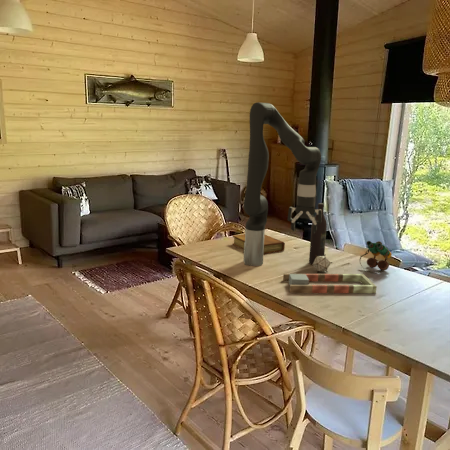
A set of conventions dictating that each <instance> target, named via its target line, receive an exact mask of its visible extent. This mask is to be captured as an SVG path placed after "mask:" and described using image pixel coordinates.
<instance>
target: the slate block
mask: <svg viewBox="0 0 450 450" xmlns="http://www.w3.org/2000/svg"><path fill="white" fill-rule="evenodd" d="M288 274H289V281H288V285H289V286H290V285H310V284H309V283H310V281H309V279H308V277H307V276H306V274H307V273H288Z"/></svg>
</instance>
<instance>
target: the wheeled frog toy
mask: <svg viewBox="0 0 450 450" xmlns="http://www.w3.org/2000/svg"><path fill="white" fill-rule="evenodd" d="M366 246H367V248H368V249H367V250H366V251H365V253H364V254H362V255H360V257H359V264H360V266H361V267H363V266H362V262H361V261H362V260H361V259H362V257H364V256H367V255H368V254H369V252H370V253H371V254H372V255H373V257H368V259H366V265H367V266H368V267H370V268H371V269H373V268H378V269H379V270H381V271H370V270H367V269H366V268H364V271H367V272H369V273H373V274H379V273H383V272H384V271H387V270H388V269H389V267H390V262H389V259H390V258H392V255H393V254H392V252H391V251H390V250H389V249H388V247H386V246H385V245H384V244H383V243H382V242H381V241H380V240H379V241H376V242H372V240H367V241H366ZM379 255H381V256H382V257H383V258H384V260H383V259H381V260H379V261H378V260H377V259H376V257H378V256H379Z"/></svg>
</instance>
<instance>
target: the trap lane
mask: <svg viewBox="0 0 450 450" xmlns="http://www.w3.org/2000/svg"><path fill="white" fill-rule="evenodd" d="M289 274H290V273H283V275H282V277H283V278H282V280H283V282H289ZM305 274H306V276H307V277H308V279H309V282H327V283H328V282H335V283H338V282H340V283H341V282H342V283H343V282H344V283H345V282H346V283H347V282H349V283H350V282H352V283H353V282H354V283H355V282H356V283H359V282H360V283H361V284H309V285H289V293H290V294H376V293H377V287H378V286H377V285H376V284H375V283H374V282H373V281H372V280H370V279H369V278H368V277H367V276H366V275H365V274H364V273H305Z"/></svg>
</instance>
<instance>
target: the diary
mask: <svg viewBox="0 0 450 450" xmlns="http://www.w3.org/2000/svg"><path fill="white" fill-rule="evenodd" d="M232 238H234V239H233V242H232V246H235V247H238V249H242V250H243V251H244V243H245V233H241V234H235V235H232ZM285 244H286V243H285V242H284V241H283V240H280V239H277V238H275V237H272V236H269V235H266V234H264V254H263V255H266V254H272V253H273V252H274V253H280V252H284V251H285V248H286V247H285Z"/></svg>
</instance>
